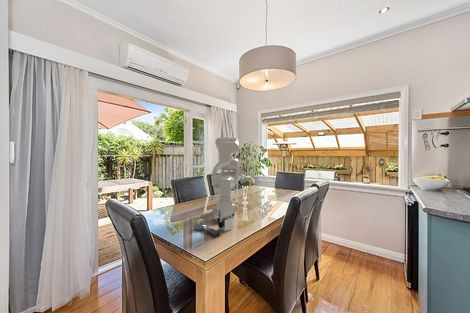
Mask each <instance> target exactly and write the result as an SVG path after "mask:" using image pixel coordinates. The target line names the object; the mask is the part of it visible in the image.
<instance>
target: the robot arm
mask: <svg viewBox="0 0 470 313" xmlns="http://www.w3.org/2000/svg"><path fill="white" fill-rule="evenodd" d="M215 146H216V149H217V151H218V162H217V163H216V164H215V166H213V169H212V171H211V172H212V173H211V185H212V187H213V188H218V199H217V205H216V208H217V213H216V214H215V216H214V217H215V218H216V220H217V221H216V222H217V225H218V226H217V227H218V229H219V228H221V229H222V222H221V221H222V219H223V217H227V216H228V217H231V218H232V220H233V219H234V217H235V214H236V211H237V210H235V209H234V207H235V203H233V200H232V197H233V194H232V187H233V186H234V184H238V183H239V181H240V161H239V159H238V158H233V157H232V154H238V153H239V152H240V143H239V140H238V137H227V136H226V137H225V136H224V137H216V138H215ZM219 170H221V171H220V172H218V171H219ZM217 172H218V173H217ZM218 216H219V217H218ZM220 217H221V218H220Z"/></svg>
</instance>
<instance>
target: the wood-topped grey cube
mask: <svg viewBox="0 0 470 313" xmlns="http://www.w3.org/2000/svg"><path fill="white" fill-rule="evenodd" d="M220 218H221V217H220ZM221 222H222V229H221V228H219V227H218V230H219V231H222V232H224V233H225V232H228V231H230V230H233V219H232V218H231V217H229V216H227V217H223V219H222V221H221Z"/></svg>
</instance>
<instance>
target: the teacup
mask: <svg viewBox="0 0 470 313" xmlns="http://www.w3.org/2000/svg"><path fill="white" fill-rule="evenodd" d="M216 213H217V207H214V208H212V209H211V214H212V219H213V220H214V221H215V222H218V221H217V220H216V218H215V217H214V216H215V214H216ZM218 217H219V216H218Z"/></svg>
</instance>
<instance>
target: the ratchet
mask: <svg viewBox="0 0 470 313" xmlns="http://www.w3.org/2000/svg"><path fill="white" fill-rule="evenodd" d="M193 230H194V231H196V232H202V233H204V234H206V235H208V236H210V237H212V238H214V239H216V238H218V237H221V232H220V230H216V229H214V228H210V227H208V224H207V222H205V220H204V219H203V218H199V219H196V223H194V225H193Z"/></svg>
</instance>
